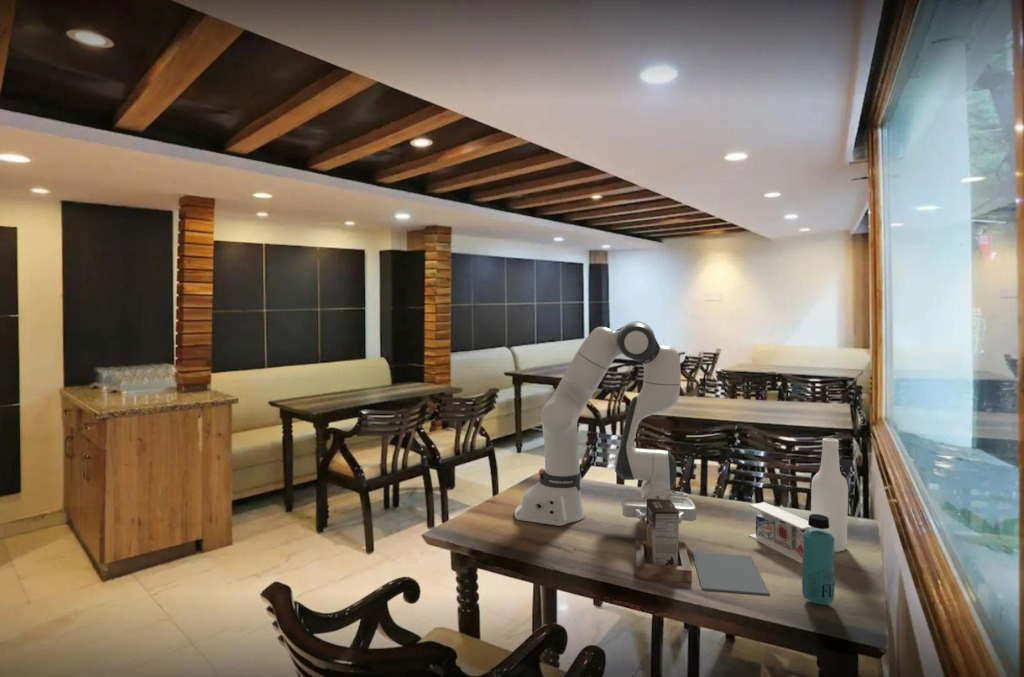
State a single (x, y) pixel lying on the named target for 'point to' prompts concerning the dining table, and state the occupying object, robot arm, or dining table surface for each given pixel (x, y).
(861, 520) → the dining table surface
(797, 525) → the cigarette display
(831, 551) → the beverage bottle
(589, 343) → the robot arm
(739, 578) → the rubber mat
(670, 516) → the coffee box
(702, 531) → the dining table surface
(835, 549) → the alcohol
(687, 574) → the walnut cradle
